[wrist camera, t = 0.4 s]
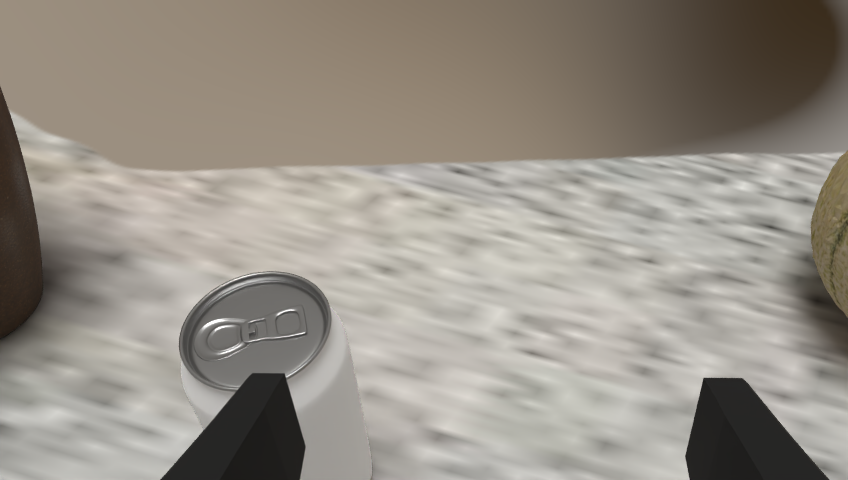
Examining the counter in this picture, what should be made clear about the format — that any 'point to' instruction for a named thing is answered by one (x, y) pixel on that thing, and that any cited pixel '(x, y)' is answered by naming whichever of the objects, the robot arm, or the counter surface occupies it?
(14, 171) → the plant pot
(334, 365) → the can
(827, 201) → the cantaloupe
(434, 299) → the counter surface
